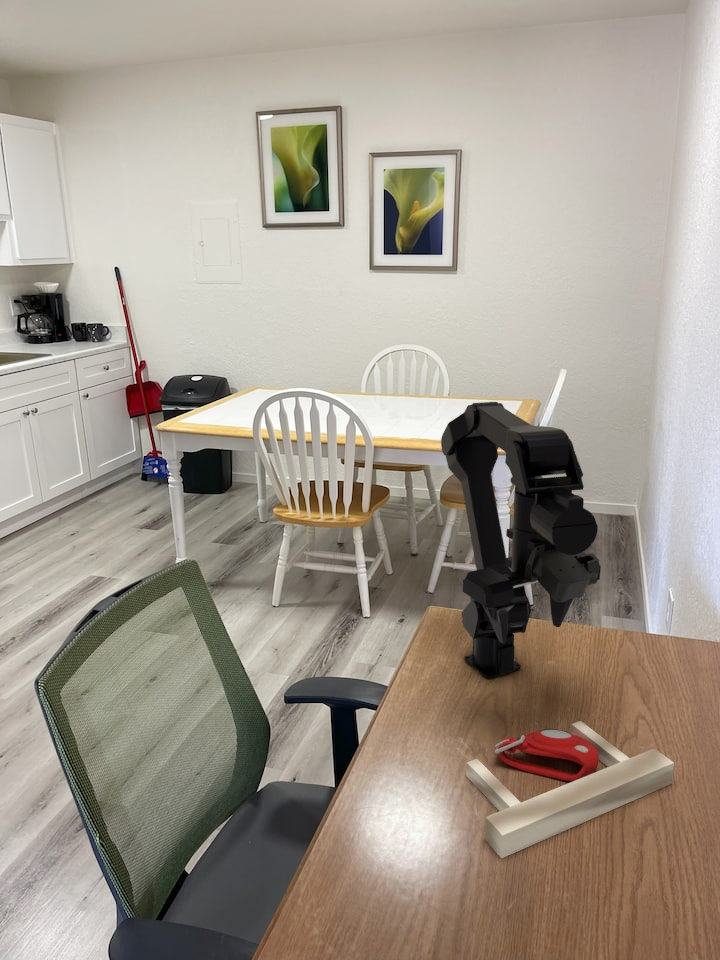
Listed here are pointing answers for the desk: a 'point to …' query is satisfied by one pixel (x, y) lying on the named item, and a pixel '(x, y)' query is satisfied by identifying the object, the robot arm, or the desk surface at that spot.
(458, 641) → the desk surface
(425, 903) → the desk surface
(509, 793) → the frame
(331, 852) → the desk surface
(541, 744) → the tracker holder
